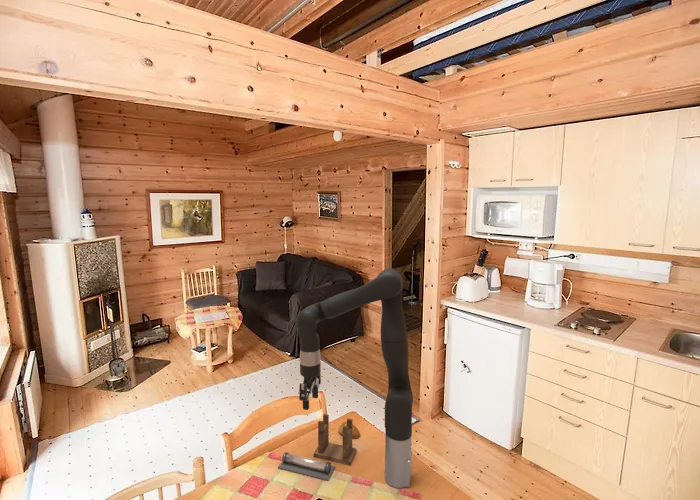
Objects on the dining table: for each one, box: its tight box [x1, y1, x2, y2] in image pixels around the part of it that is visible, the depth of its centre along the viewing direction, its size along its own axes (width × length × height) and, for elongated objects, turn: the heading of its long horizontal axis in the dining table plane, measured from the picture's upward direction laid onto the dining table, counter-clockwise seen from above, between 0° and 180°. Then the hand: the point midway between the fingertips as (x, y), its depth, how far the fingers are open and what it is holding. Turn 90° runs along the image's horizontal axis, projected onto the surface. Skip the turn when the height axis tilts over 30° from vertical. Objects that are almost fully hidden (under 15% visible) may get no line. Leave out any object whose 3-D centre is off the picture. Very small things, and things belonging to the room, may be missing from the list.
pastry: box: [338, 421, 361, 440], centre depth 152 cm, size 9×7×4 cm
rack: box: [313, 413, 358, 466], centre depth 138 cm, size 15×8×14 cm, turn 72°
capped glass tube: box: [281, 451, 332, 473], centre depth 131 cm, size 18×3×3 cm, turn 72°
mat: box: [277, 461, 336, 482], centre depth 131 cm, size 20×7×1 cm, turn 72°
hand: (310, 403), depth 131 cm, fingers open, 8 cm apart
